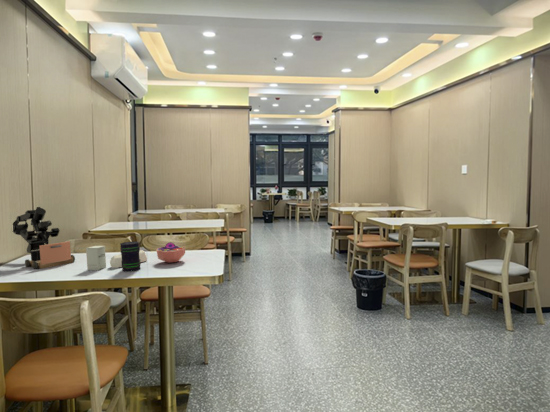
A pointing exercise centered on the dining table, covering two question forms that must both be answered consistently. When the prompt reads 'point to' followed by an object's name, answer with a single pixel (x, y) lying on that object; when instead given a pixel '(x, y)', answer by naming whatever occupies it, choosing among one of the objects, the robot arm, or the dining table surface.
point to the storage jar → (130, 256)
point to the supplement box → (96, 257)
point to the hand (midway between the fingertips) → (47, 243)
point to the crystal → (117, 259)
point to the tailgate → (55, 252)
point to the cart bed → (38, 263)
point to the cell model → (170, 253)
